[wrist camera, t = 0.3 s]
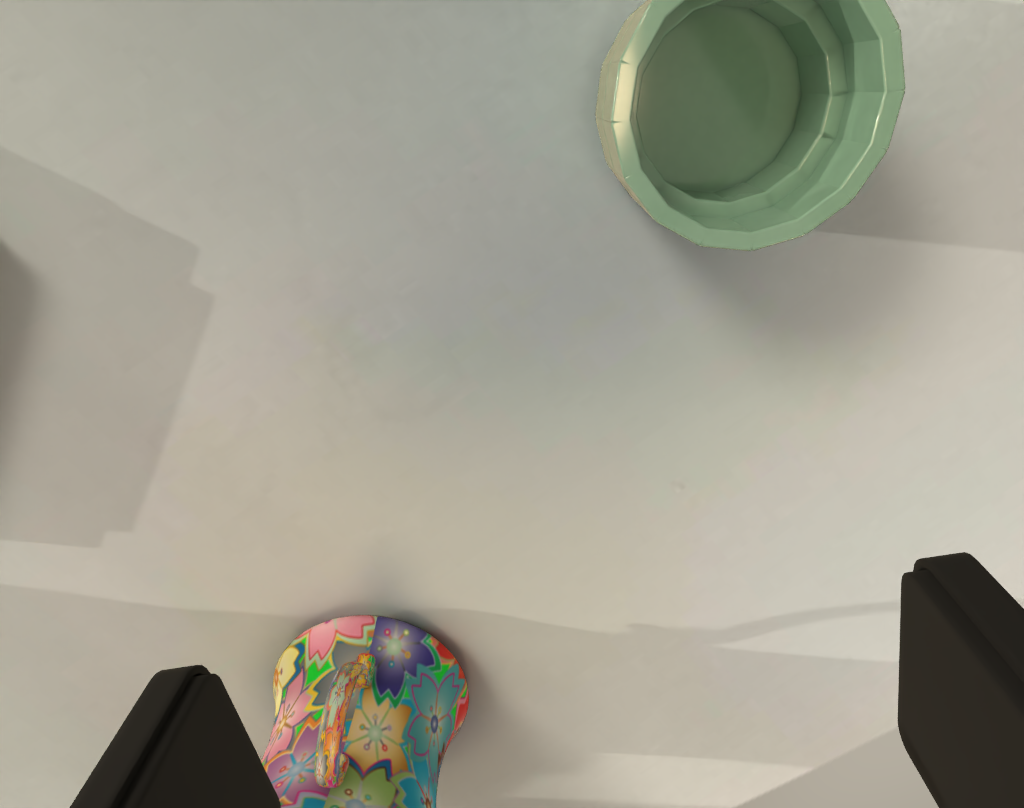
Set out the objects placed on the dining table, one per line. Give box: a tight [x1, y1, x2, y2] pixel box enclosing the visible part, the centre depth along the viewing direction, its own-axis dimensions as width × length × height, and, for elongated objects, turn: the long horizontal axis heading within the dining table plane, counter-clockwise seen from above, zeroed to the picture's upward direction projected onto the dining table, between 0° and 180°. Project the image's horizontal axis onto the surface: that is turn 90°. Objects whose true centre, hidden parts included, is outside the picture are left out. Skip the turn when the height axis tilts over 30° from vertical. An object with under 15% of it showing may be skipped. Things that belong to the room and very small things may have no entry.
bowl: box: [595, 0, 905, 251], centre depth 20 cm, size 7×7×5 cm
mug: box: [261, 615, 469, 808], centre depth 26 cm, size 12×9×11 cm
